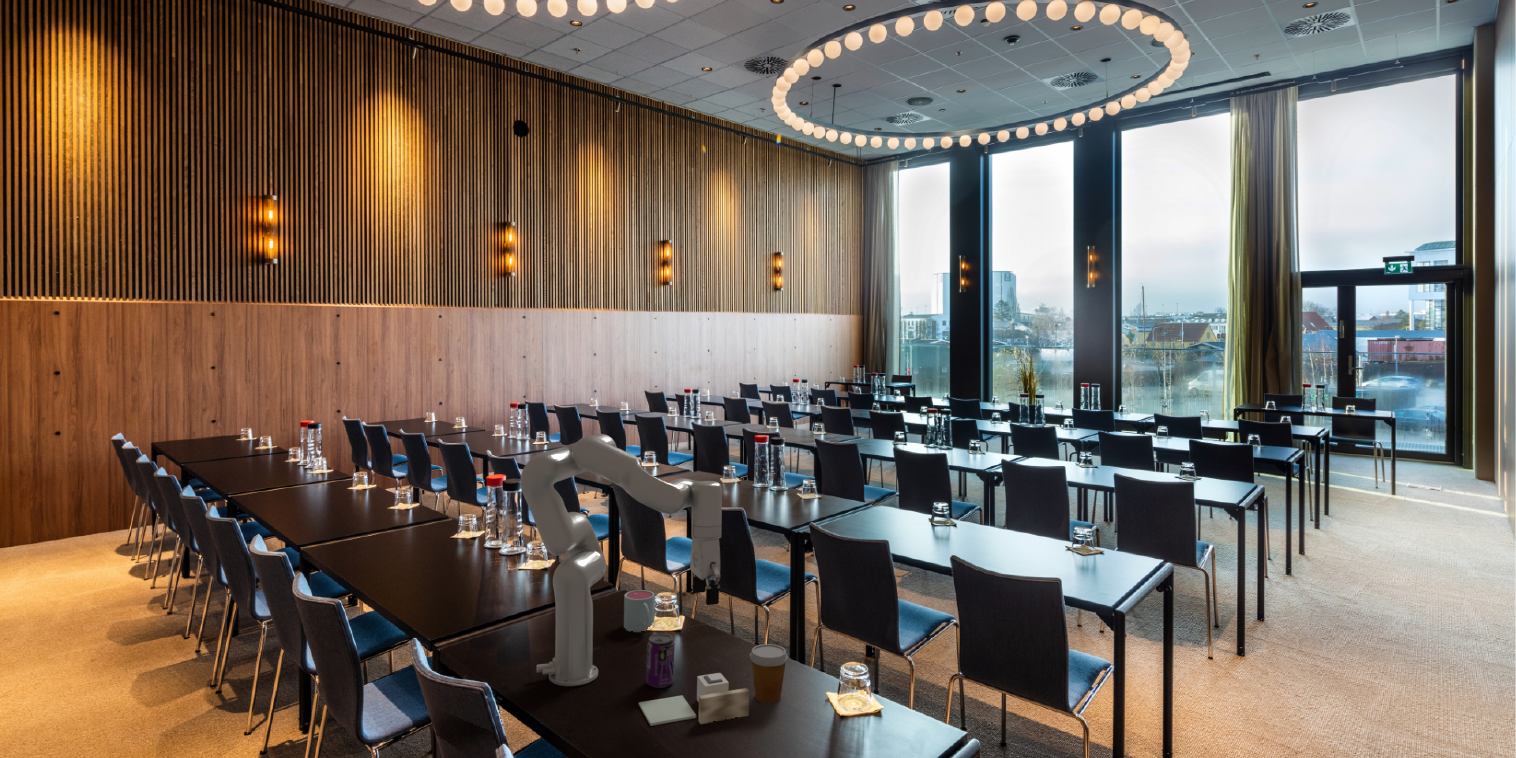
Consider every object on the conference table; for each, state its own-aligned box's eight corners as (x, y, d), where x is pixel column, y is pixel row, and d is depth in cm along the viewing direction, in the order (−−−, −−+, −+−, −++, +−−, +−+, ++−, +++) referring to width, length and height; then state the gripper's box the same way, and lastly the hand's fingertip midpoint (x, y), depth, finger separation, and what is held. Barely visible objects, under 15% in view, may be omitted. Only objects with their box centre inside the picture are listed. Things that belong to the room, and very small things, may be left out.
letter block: (704, 710, 184) (705, 685, 183) (696, 700, 189) (697, 675, 189) (728, 706, 186) (728, 681, 186) (719, 696, 191) (720, 671, 191)
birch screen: (700, 724, 177) (701, 698, 177) (698, 721, 179) (699, 695, 178) (748, 715, 182) (749, 690, 182) (746, 712, 183) (746, 687, 183)
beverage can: (668, 691, 194) (669, 644, 193) (642, 688, 195) (643, 641, 195) (677, 679, 201) (678, 634, 200) (651, 676, 202) (652, 631, 201)
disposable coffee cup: (774, 710, 185) (775, 661, 184) (741, 700, 190) (742, 652, 189) (793, 695, 193) (795, 648, 192) (761, 686, 198) (762, 640, 197)
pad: (650, 725, 176) (650, 723, 176) (638, 704, 186) (638, 702, 186) (696, 717, 180) (696, 715, 180) (682, 697, 190) (682, 695, 190)
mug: (620, 623, 240) (621, 592, 239) (649, 619, 244) (649, 588, 243) (632, 639, 227) (633, 605, 227) (662, 634, 231) (662, 602, 231)
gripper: (681, 524, 199) (681, 589, 199) (703, 540, 183) (702, 610, 183) (709, 522, 202) (708, 586, 202) (732, 537, 186) (732, 607, 186)
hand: (705, 598), depth 193 cm, fingers open, 9 cm apart
